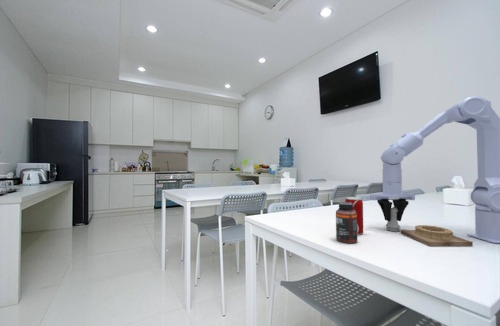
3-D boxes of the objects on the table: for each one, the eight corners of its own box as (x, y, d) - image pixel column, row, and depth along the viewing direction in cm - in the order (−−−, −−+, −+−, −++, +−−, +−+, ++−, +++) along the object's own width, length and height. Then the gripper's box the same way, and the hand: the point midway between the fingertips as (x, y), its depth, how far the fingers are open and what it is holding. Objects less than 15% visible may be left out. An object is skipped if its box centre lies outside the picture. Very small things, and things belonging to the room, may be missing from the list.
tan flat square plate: (436, 233, 74) (436, 223, 74) (472, 246, 62) (472, 234, 62) (400, 233, 74) (400, 223, 74) (429, 246, 62) (429, 234, 62)
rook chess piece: (403, 232, 75) (402, 208, 75) (388, 231, 76) (388, 208, 76) (397, 228, 80) (396, 206, 80) (383, 228, 80) (383, 206, 81)
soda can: (342, 232, 75) (341, 197, 76) (350, 229, 79) (350, 195, 79) (358, 236, 71) (357, 199, 71) (366, 233, 74) (365, 197, 75)
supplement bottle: (357, 239, 68) (356, 202, 69) (357, 245, 63) (357, 205, 63) (336, 236, 71) (336, 201, 71) (335, 242, 66) (334, 204, 66)
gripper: (404, 181, 82) (405, 217, 82) (365, 181, 82) (366, 217, 82) (419, 182, 75) (420, 222, 75) (376, 182, 75) (377, 222, 75)
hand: (392, 220), depth 78 cm, fingers closed on rook chess piece, 3 cm apart
